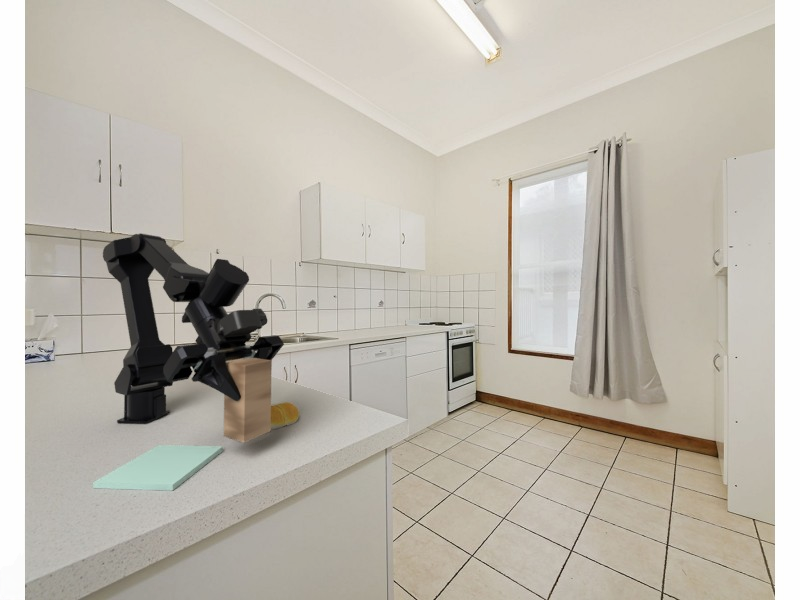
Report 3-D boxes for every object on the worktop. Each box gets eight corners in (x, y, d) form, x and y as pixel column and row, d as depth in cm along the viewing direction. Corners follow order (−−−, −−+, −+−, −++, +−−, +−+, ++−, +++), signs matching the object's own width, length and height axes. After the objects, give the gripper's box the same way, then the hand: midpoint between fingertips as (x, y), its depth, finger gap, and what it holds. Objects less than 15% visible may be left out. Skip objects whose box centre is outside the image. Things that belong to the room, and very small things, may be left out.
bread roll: (305, 421, 66) (306, 403, 66) (263, 434, 60) (263, 413, 60) (287, 412, 72) (287, 394, 72) (246, 422, 65) (247, 403, 65)
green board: (93, 488, 42) (93, 482, 42) (159, 449, 53) (159, 444, 53) (172, 490, 42) (172, 484, 42) (222, 451, 52) (222, 446, 52)
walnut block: (223, 435, 51) (224, 362, 51) (250, 425, 55) (251, 357, 55) (243, 442, 48) (245, 365, 49) (270, 431, 53) (271, 360, 53)
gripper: (175, 291, 45) (221, 376, 40) (277, 294, 62) (319, 355, 57) (146, 341, 49) (185, 425, 44) (250, 331, 66) (287, 391, 61)
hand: (253, 394), depth 51 cm, fingers closed on walnut block, 5 cm apart
